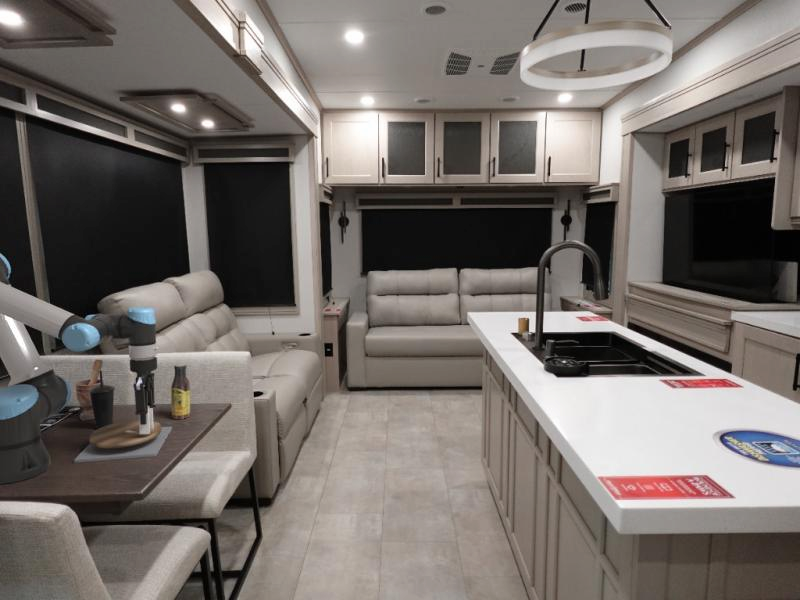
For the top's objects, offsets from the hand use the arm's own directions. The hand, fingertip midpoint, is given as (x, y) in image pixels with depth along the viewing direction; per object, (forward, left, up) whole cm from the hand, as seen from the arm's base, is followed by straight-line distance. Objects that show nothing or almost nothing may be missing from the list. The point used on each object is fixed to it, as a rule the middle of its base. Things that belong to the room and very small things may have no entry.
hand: (146, 431), depth 156 cm
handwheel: (-7, +4, -4) cm, 9 cm away
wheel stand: (-7, +4, -5) cm, 10 cm away
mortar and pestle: (-27, +34, -6) cm, 44 cm away
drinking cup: (-19, +21, -6) cm, 29 cm away
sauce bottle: (+5, +26, -6) cm, 27 cm away
